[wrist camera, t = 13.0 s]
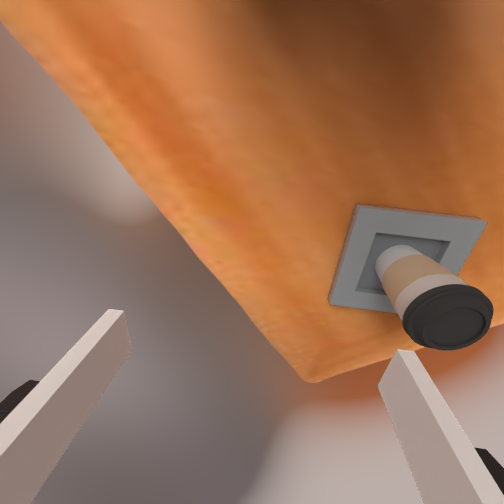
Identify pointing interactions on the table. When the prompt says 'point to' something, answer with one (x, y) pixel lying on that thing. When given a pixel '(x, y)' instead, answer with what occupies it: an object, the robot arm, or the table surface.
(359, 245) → the frame
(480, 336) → the coffee cup
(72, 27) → the table surface
